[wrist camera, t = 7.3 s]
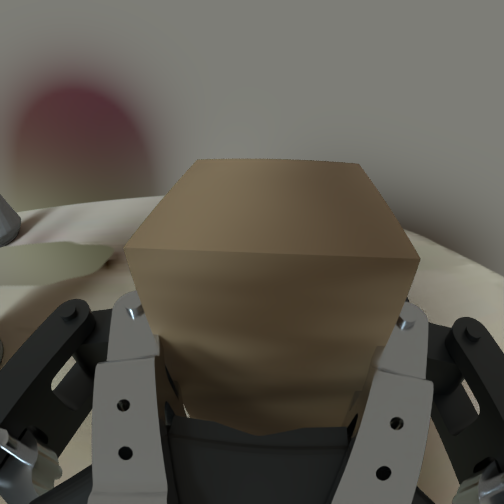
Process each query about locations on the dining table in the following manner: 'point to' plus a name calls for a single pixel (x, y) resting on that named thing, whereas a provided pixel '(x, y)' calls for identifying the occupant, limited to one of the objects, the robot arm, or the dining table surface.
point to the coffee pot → (8, 223)
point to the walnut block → (271, 288)
